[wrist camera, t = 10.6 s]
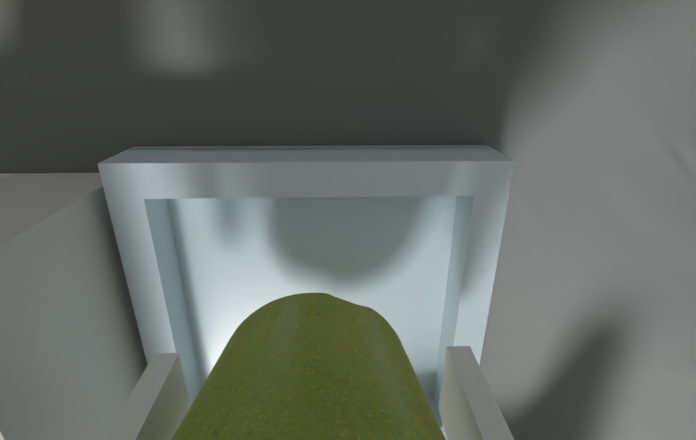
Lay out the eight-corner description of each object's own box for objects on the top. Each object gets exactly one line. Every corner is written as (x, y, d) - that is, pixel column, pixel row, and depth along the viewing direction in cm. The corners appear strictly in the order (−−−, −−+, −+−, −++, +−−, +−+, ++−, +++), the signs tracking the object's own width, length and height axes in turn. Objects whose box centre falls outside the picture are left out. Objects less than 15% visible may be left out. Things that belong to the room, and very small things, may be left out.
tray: (188, 409, 20) (170, 456, 18) (133, 146, 15) (97, 163, 12) (450, 400, 20) (465, 444, 18) (486, 144, 15) (514, 160, 13)
